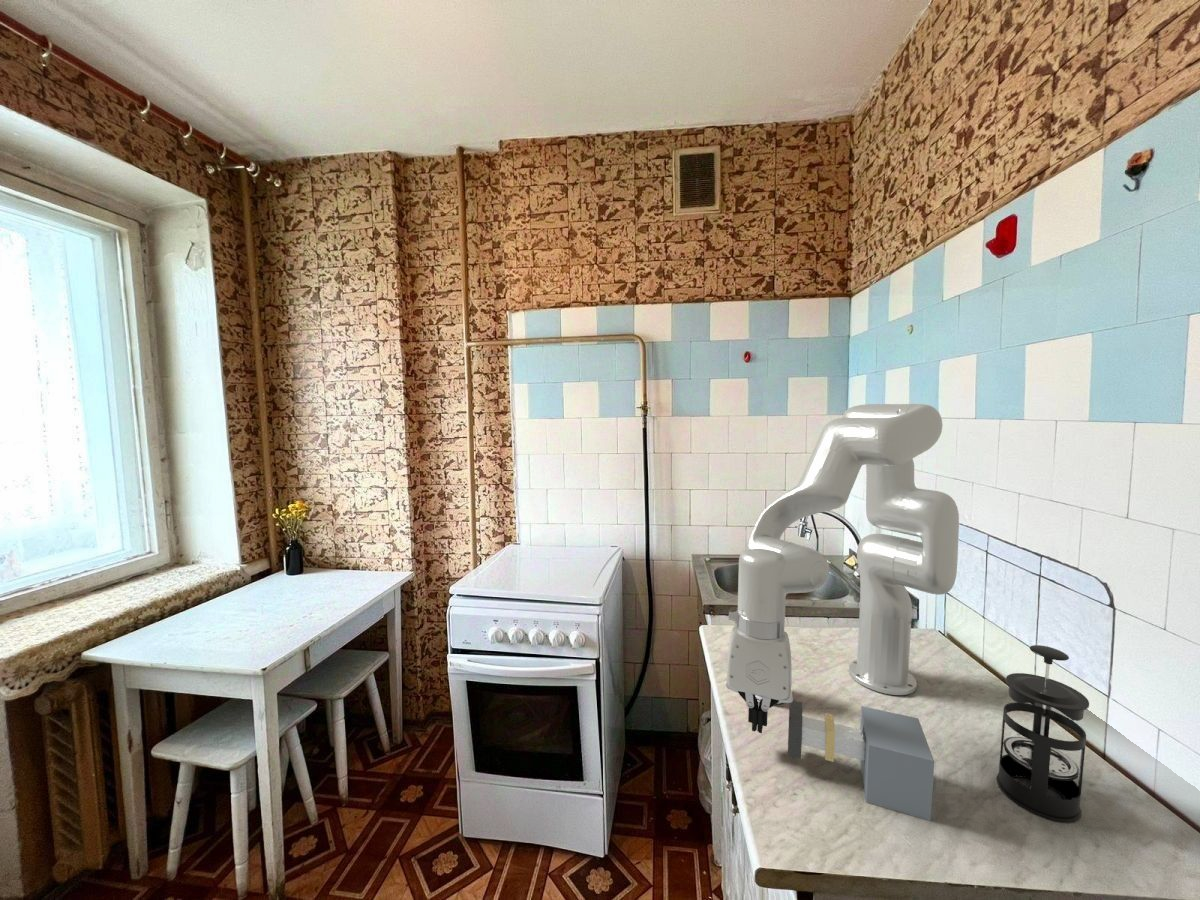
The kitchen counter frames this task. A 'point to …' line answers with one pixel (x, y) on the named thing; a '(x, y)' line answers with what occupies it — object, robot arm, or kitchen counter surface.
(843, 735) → the shaft
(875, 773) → the housing
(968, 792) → the kitchen counter surface
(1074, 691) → the french press
